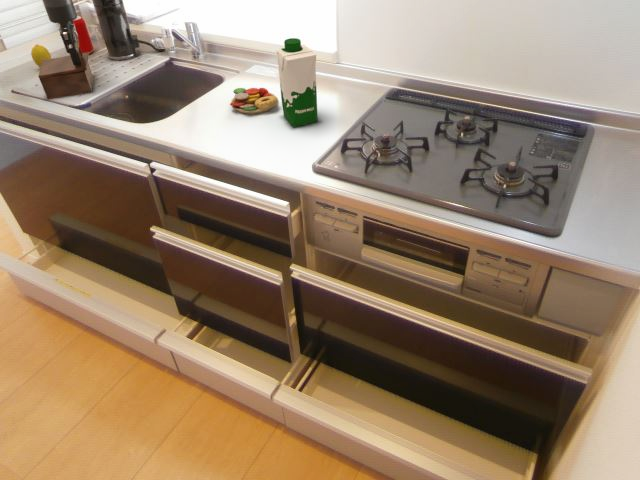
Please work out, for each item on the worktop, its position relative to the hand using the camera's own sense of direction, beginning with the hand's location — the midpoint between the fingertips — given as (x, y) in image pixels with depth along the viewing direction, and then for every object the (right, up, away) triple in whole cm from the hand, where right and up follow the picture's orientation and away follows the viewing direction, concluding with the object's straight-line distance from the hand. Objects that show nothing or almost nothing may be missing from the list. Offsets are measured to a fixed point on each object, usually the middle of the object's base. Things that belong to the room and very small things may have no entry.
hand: (78, 60), depth 153 cm
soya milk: (+68, -22, -18) cm, 74 cm away
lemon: (-19, +3, +17) cm, 25 cm away
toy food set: (+55, -16, -10) cm, 58 cm away
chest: (-4, -7, +4) cm, 9 cm away
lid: (-4, -2, 0) cm, 4 cm away
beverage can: (-10, +12, +27) cm, 31 cm away
